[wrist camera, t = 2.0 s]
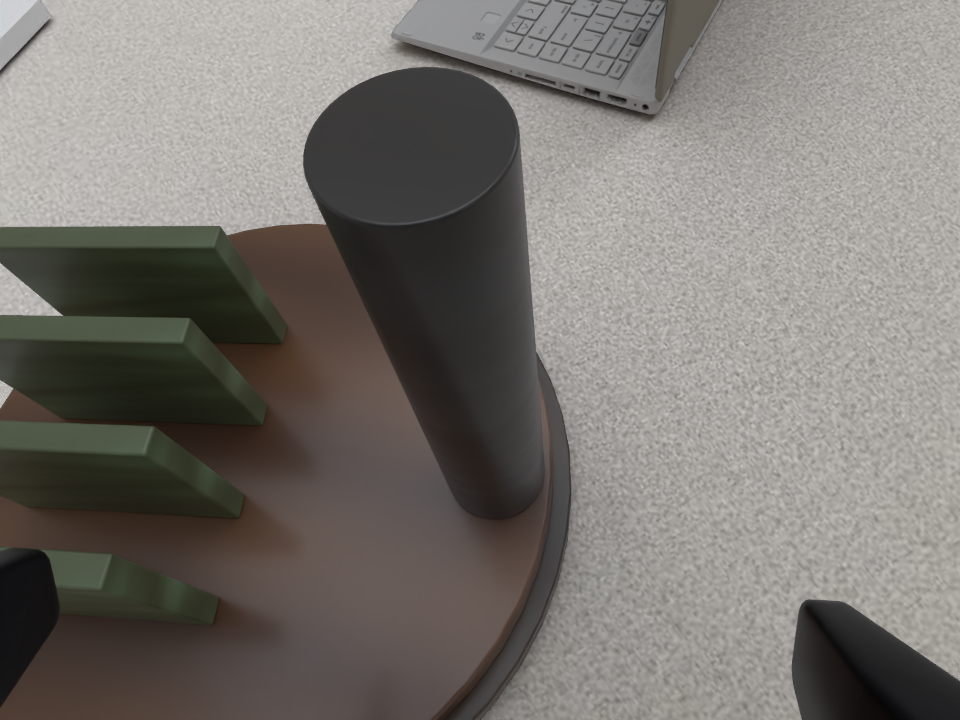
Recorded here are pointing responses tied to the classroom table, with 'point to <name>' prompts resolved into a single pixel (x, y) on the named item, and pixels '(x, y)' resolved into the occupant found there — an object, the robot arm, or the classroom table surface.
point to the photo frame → (19, 25)
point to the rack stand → (546, 580)
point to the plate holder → (288, 433)
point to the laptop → (569, 42)
